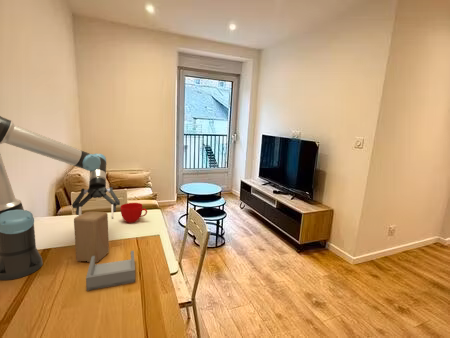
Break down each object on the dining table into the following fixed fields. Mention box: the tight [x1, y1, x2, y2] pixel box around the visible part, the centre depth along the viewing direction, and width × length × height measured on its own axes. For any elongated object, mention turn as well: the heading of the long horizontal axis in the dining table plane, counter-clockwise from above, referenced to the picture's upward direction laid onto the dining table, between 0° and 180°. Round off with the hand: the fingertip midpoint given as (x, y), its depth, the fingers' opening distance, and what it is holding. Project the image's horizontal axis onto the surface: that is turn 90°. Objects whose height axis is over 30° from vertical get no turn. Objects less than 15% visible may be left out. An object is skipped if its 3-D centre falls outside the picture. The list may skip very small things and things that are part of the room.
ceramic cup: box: [119, 202, 148, 224], centre depth 157 cm, size 13×17×10 cm
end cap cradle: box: [85, 250, 136, 292], centre depth 99 cm, size 16×16×5 cm
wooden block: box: [73, 210, 110, 263], centre depth 111 cm, size 10×10×20 cm
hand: (96, 219), depth 115 cm, fingers open, 13 cm apart
